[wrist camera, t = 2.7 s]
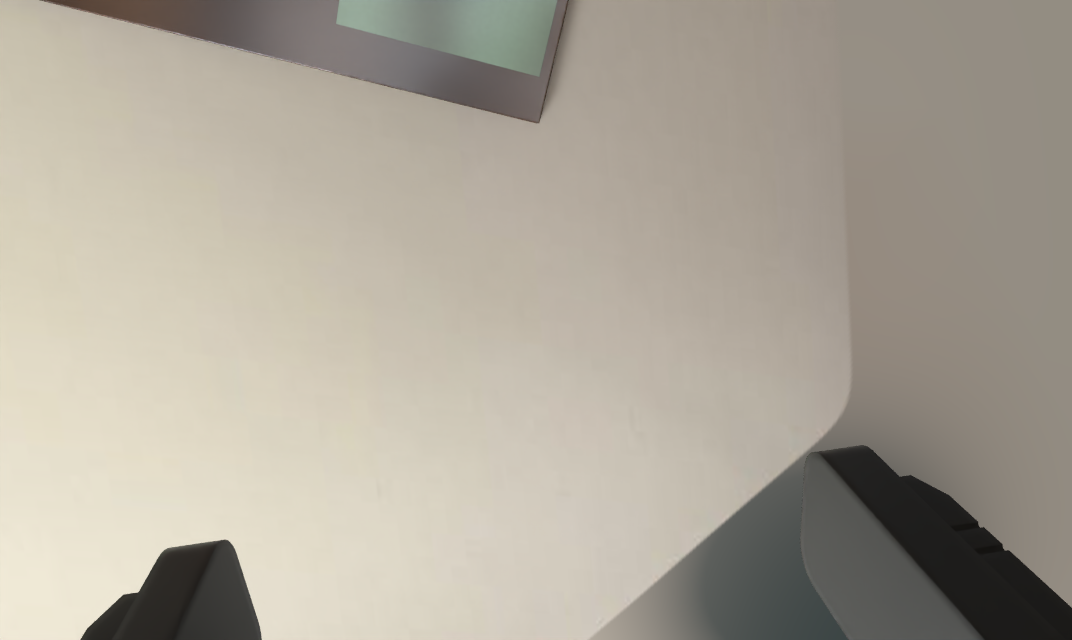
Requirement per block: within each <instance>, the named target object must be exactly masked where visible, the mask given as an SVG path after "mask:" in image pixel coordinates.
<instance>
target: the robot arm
mask: <svg viewBox="0 0 1072 640" xmlns="http://www.w3.org/2000/svg"><path fill="white" fill-rule="evenodd" d="M800 546H801V554H802V559H803V562H804V566H805V569H806V572H807V574H808V577H809V579H810V581H811V583H812V585H813V586H814V588H815V590H816V591H817V593H818V594H819V596H820V597H821V599H822V600H823V602H824V603H825V605H826V606H827V608H828V609H829V611H830V612H831V614H832V615H833V617H834V618H835V620H836V622H837V623H838V624H839V626H840V628H841V629H842V630H843V632H844V634H845V635H846V637H847V638H848V640H1072V608H1071V607H1070V606H1069V605H1068V604H1067V603H1066V602H1065V601H1064V600H1063V599H1061V598H1060V597H1059V596H1058V595H1057V594H1056V593H1055V592H1054V591H1053V590H1052V589H1051V588H1049V587H1048V586H1047V585H1046V584H1045V583H1044V582H1043V581H1042V580H1041V579H1040V578H1039V577H1037V576H1036V575H1035V574H1034V573H1033V572H1032V571H1031V570H1030V569H1029V568H1028V567H1027V566H1025V565H1024V564H1023V563H1022V562H1021V561H1020V560H1019V559H1018V558H1017V557H1016V556H1014V555H1013V554H1012V553H1011V552H1010V551H1008V550H1007V551H1005V550H1004V549H1003V546H1002V543H1000V542H999V541H998V540H997V539H996V538H995V537H994V536H993V535H992V534H991V533H990V532H988V531H987V530H986V529H985V528H984V527H983V528H980V527H979V525H978V521H977V520H975V519H974V518H973V517H972V516H971V515H970V514H969V513H968V512H967V511H966V510H964V509H963V508H962V507H961V506H960V505H959V504H958V503H957V502H956V501H955V500H953V498H951V497H950V496H949V495H947V494H946V493H944V492H942V491H940V490H938V489H936V488H934V487H932V486H930V485H928V484H926V483H924V482H923V481H920V480H919V479H917V478H915V477H913V476H911V475H909V476H902V477H899V476H898V475H897V474H896V473H895V472H894V471H893V470H892V469H891V468H890V467H889V466H888V465H887V464H886V463H885V462H884V461H883V460H882V459H881V458H880V457H879V456H878V455H877V454H876V453H875V452H874V451H873V450H871V449H870V448H869V447H867V446H864V445H860V446H853V447H847V448H839V449H833V450H826V451H819V452H812V453H810V454H809V455H808V456H807V458H806V461H805V467H804V482H803V499H802V517H801V534H800ZM81 640H262V639H261V631H260V626H259V622H258V619H257V616H256V613H255V610H254V607H253V604H252V601H251V598H250V594H249V591H248V588H247V585H246V582H245V579H244V576H243V573H242V569H241V566H240V563H239V560H238V557H237V554H236V551H235V549H234V547H233V545H232V544H231V543H230V542H229V541H228V540H220V541H213V542H206V543H199V544H192V545H186V546H179V547H172V548H167V549H166V550H164V551H163V552H162V553H161V554H160V556H159V557H158V559H157V561H156V563H155V564H154V566H153V568H152V570H151V571H150V573H149V575H148V577H147V578H146V580H145V582H144V584H143V586H142V587H141V589H140V591H139V592H138V593H132V594H125V595H123V596H122V597H121V598H119V599H118V600H117V601H116V602H115V603H114V604H113V605H112V606H111V607H110V608H109V609H108V610H107V611H106V612H105V613H103V614H102V615H101V616H100V617H99V618H98V619H97V620H96V621H95V622H94V623H93V624H92V625H91V626H90V627H88V628H87V630H86V632H85V633H84V635H83V636H82V638H81Z"/></svg>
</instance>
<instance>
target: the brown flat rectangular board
mask: <svg viewBox="0 0 1072 640" xmlns="http://www.w3.org/2000/svg"><path fill="white" fill-rule="evenodd" d="M41 1H45V2H49V3H53V4H57V5H61V6H65V7H69V8H73V9H77V10H81V11H85V12H90V13H94V14H98V15H102V16H106V17H110V18H114V19H118V20H122V21H126V22H130V23H134V24H138V25H142V26H146V27H150V28H154V29H158V30H162V31H166V32H170V33H174V34H178V35H182V36H186V37H190V38H195V39H199V40H203V41H207V42H211V43H215V44H219V45H223V46H227V47H231V48H235V49H239V50H243V51H247V52H251V53H255V54H259V55H263V56H267V57H271V58H275V59H279V60H283V61H287V62H291V63H295V64H299V65H304V66H308V67H312V68H316V69H320V70H324V71H328V72H332V73H336V74H340V75H344V76H348V77H352V78H356V79H360V80H364V81H368V82H372V83H376V84H380V85H384V86H388V87H392V88H396V89H400V90H404V91H409V92H413V93H417V94H421V95H425V96H429V97H433V98H437V99H441V100H445V101H449V102H453V103H457V104H461V105H465V106H469V107H473V108H477V109H481V110H485V111H489V112H493V113H497V114H501V115H505V116H509V117H513V118H518V119H522V120H526V121H530V122H534V123H539V122H540V118H541V113H542V109H543V105H544V101H545V97H546V93H547V88H548V84H549V80H550V76H551V72H552V68H553V64H554V59H555V55H556V51H557V47H558V43H559V39H560V34H561V30H562V26H563V22H564V18H565V14H566V9H567V5H568V1H569V0H41Z"/></svg>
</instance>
